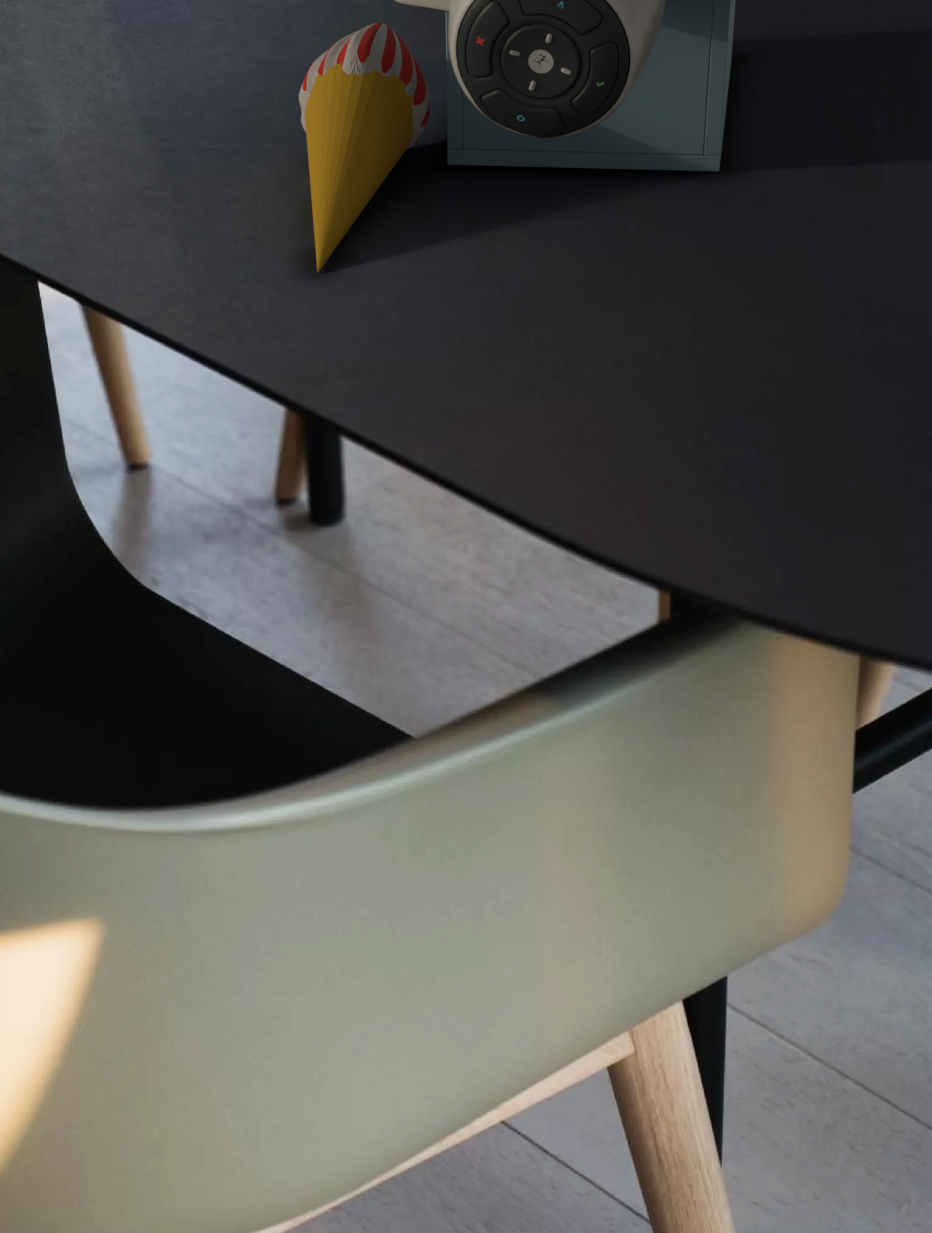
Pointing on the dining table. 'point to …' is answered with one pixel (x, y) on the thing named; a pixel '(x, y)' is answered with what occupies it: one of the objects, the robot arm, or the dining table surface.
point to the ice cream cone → (358, 125)
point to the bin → (626, 107)
